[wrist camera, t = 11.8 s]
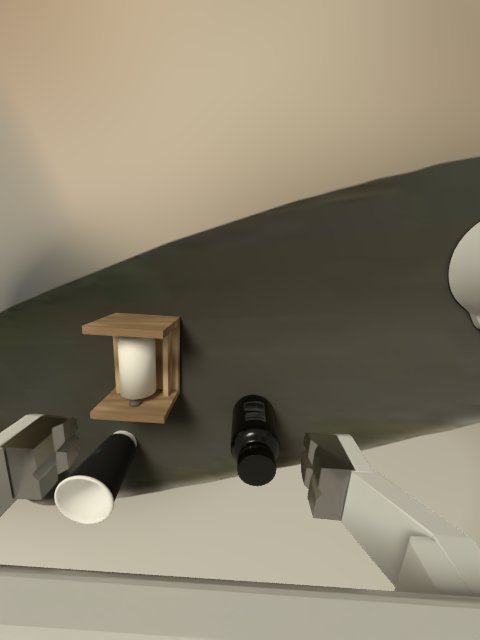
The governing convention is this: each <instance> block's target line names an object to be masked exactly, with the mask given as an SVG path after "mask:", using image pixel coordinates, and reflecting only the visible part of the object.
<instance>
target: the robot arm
mask: <svg viewBox="0 0 480 640" xmlns="http://www.w3.org/2000/svg"><path fill="white" fill-rule="evenodd" d="M449 284H450V288H451V291H452V294H453V295H454V297H455V299H456V300H457V301H458V303H459V304H460V305H461V306H463V307H464V308H465V309H466V310H467V311H468V312H469V313H470V316H471V319H472V321H473V324H474V325H475V327H476V328H478V329H480V222H479V223H478V224H476V225H475V226H474V227H473V228H472V229H471V230H469V231H468V232H467V233H466V235H465V236H464V237H463V238H462V240H461V241H460V242H459V244H458V245H457V247H456V249H455V251H454V253H453V256H452V259H451V262H450V266H449ZM77 429H78V424H77V419H75V418H73V417H64V416H53V415H40V414H30V415H26V416H24V417H23V418H21V419H20V420H19V421H17V422H16V423H14V424H13V425H11V426H10V427H8V428H7V429H5V430H4V431H3V432H1V433H0V509H1V508H2V507H4V506H5V505H7V504H8V503H10V502H11V501H13V499H35V500H42V499H43V498H44V496H45V495H46V494H47V493H48V492H49V491H50V489H51V488H52V487H53V486H54V485H55V484H56V483H57V481H58V475H59V474H60V473H62V472H64V471H65V470H67V469H69V467H70V466H71V465H72V464H73V462H74V461H75V459H76V457H77V455H78V452H79V447H80V442H79V438H78V437H77V436H76V434H75V431H76V430H77ZM304 446H305V449H306V450H305V451H304V452H303V453H302V458H301V472H302V478H303V482H304V485H305V486H306V487H307V488H308V489H309V491H308V500H309V504H310V507H311V511H312V515H313V518H320V519H330V520H340V521H341V522H342V524H343V525H344V526H345V527H346V528H347V530H348V531H349V532H350V533H351V534H352V536H353V537H354V538H355V539H356V540H357V542H358V543H359V544H360V545H361V546H362V548H363V549H364V550H365V551H366V552H367V554H368V555H369V556H370V557H371V558H372V560H373V561H374V562H375V563H376V564H377V565H378V567H379V568H380V569H381V570H382V572H383V573H384V574H385V575H386V576H387V578H388V579H389V580H390V581H391V582H392V583H393V585H394V586H395V587H396V588H395V591H382V590H367V589H352V588H338V587H323V586H309V585H294V584H279V583H264V582H248V581H234V580H217V579H203V578H189V577H173V576H159V575H145V574H130V573H115V572H101V571H86V570H71V569H57V568H42V567H27V566H12V565H0V640H480V548H479V547H478V546H477V545H476V544H475V542H474V541H473V540H472V539H471V538H470V537H469V536H467V535H466V534H464V533H463V532H462V531H460V530H458V529H457V528H456V527H454V526H453V525H452V524H450V523H449V522H447V521H446V520H445V519H443V518H442V517H440V516H439V515H438V514H436V513H435V512H433V511H432V510H431V509H429V508H428V507H426V506H425V505H424V504H422V503H421V502H419V501H418V500H417V499H415V498H413V497H412V496H411V495H410V494H408V493H407V492H405V491H404V490H402V489H401V488H400V487H398V486H397V485H395V484H394V483H393V482H391V481H390V480H389V479H387V478H386V477H384V476H383V475H381V474H380V473H378V472H374V471H373V470H372V468H371V467H370V465H369V463H368V462H367V460H366V459H365V457H364V455H363V454H362V452H361V451H360V449H359V448H358V446H357V444H356V443H355V441H354V440H353V438H352V436H350V435H349V434H319V433H306V434H305V436H304Z"/></svg>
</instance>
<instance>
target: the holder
mask: <svg viewBox="0 0 480 640" xmlns="http://www.w3.org/2000/svg"><path fill="white" fill-rule="evenodd" d="M82 332H83V334H93V335H109V336H113V345H114V361H115V376H116V388H115V389H114V390H113V391H112V392H110V393H109V394H108V395H107V396H106V397H105V398H104V399H103V400H102V401H101V402H100V403H99V404H98V405H97V406H96V407H95V408H94V409H93V410H92V411H91V412H90V417H91V419H102V420H118V421H133V422H149V423H165V421H166V419H167V417H168V415H169V413H170V411H171V409H172V407H173V405H174V403H175V401H176V399H177V397H178V395H179V393H180V317H173V316H157V315H140V314H124V313H114V314H112V315H109V316H107V317H104V318H101V319H99V320H96V321H94V322H91V323H88V324H86V325H83V326H82ZM117 336H125V337H142V338H155V346H156V391H155V393H154V394H152V395H151V396H149V397H146V398H143V399H136V400H131V399H126V398H123V397H122V396H121V392H120V375H119V358H118V341H117Z"/></svg>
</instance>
